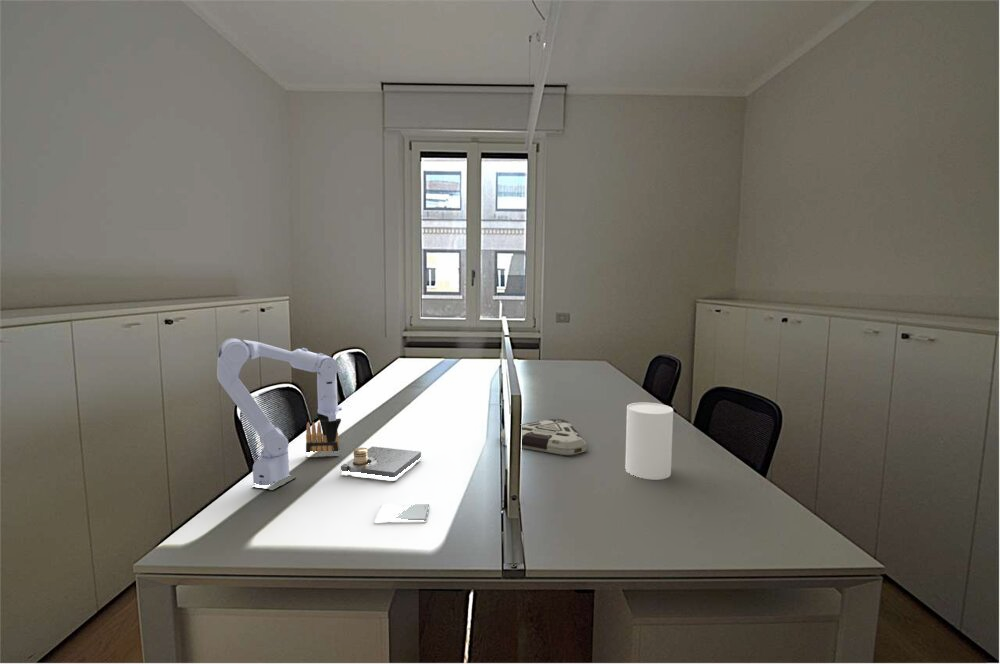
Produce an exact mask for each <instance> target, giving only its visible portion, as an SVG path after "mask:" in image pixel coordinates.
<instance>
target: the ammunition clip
mask: <svg viewBox="0 0 1000 664" xmlns="http://www.w3.org/2000/svg"><path fill="white" fill-rule="evenodd" d="M316 427H317V429H316ZM305 428H306V431H305V432H306V434H305V441H306V443H305V453H306V452H310V451H313V452H315V451H319V452H320V451H333V452H334V451H338V450H340V442H339V432H338V430H337V435H336V440H335V442H328V441H327V438H326V435H323V432H322V427H321V423H320V421H318V422H317V425H316V424H315V422H314V421H313V422H312V425H310V422H309V421H307V423H306V427H305Z"/></svg>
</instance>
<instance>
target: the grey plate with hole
mask: <svg viewBox="0 0 1000 664" xmlns="http://www.w3.org/2000/svg"><path fill="white" fill-rule="evenodd" d="M367 450H368V463H369V464H367V465H362V466H357V465H354V458H351V459H350V460H348V461H347V462H346V463H343V464H342V465H340V471H341V470H342V471H348V470H349V471H350V472H361V473H367V474H375V475H382V476H389V477H395V476H397V475H398V474H399V473H401V472H402V471H403V470H404V469H406V468H407V467H408V466H410V465H411V464H412V463H414V462H415V461H416V460H418V459H419V458H420V457H421V458H422V452H421V451H418V450H407V449H399V448H390V447H381V446H371V447H369V448H367Z"/></svg>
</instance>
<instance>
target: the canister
mask: <svg viewBox="0 0 1000 664" xmlns="http://www.w3.org/2000/svg"><path fill="white" fill-rule="evenodd" d="M673 424H674V408H673V407H671V406H669V405H666V404H663V403H657V402H647V401H645V402H644V401H642V402H640V401H639V402H632V403H629V404H627V405H626V431H625V432H626V433H625V434H626V435H625V467H624V468H625V469H626V470H625V469H624V470H625V471H626V473H627V474H629V473H630V474H629V475H631V476H633V475H634V476H633V477H635V476H636V477H635V478H638V477H639V478H638V479H642V478H643V479H644V480H650V481H651V480H653V481H654V480H656V481H657V480H658V481H659V480H665V479H667V478H669V477H671V475H672V452H673V450H672V449H673V426H674V425H673Z"/></svg>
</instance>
